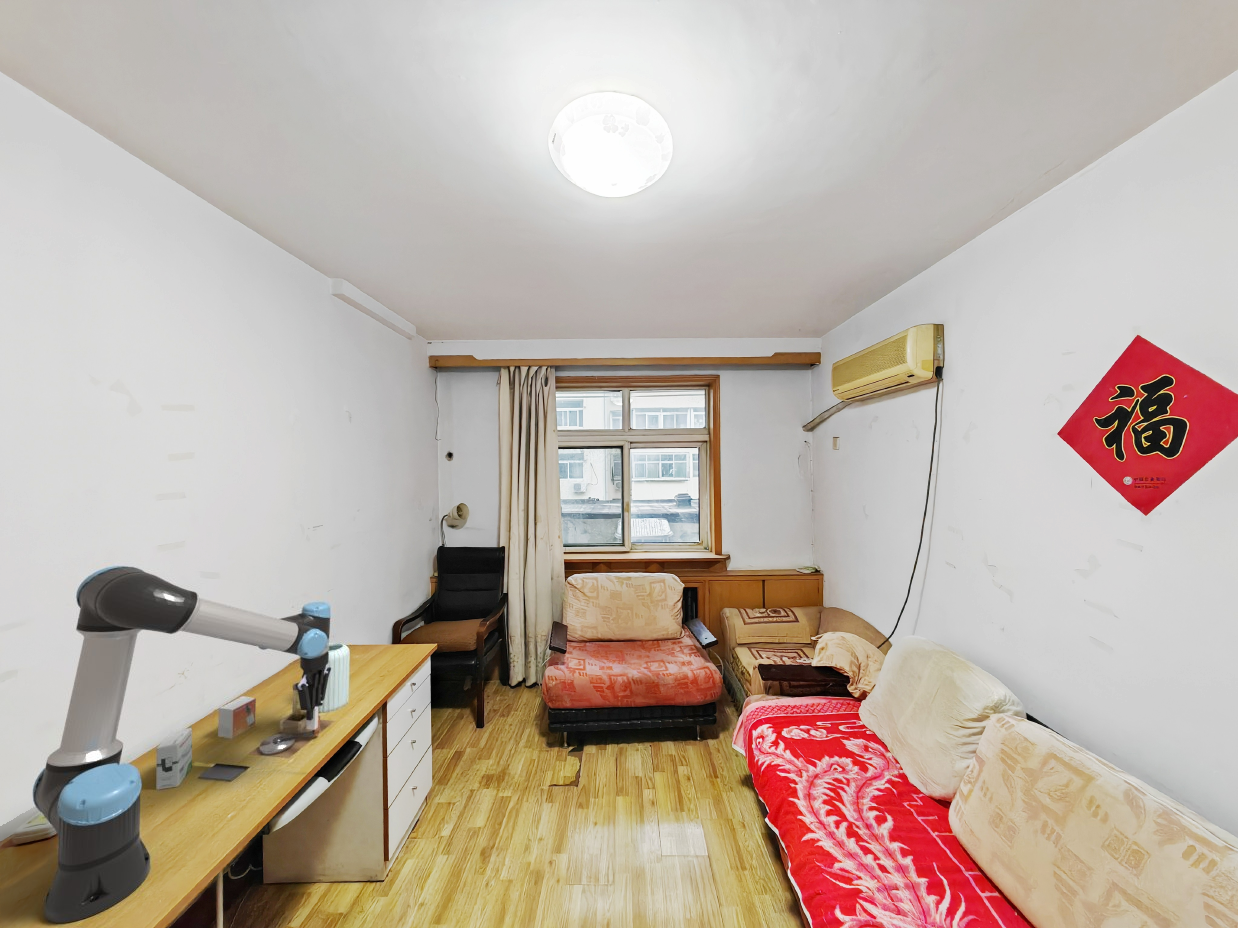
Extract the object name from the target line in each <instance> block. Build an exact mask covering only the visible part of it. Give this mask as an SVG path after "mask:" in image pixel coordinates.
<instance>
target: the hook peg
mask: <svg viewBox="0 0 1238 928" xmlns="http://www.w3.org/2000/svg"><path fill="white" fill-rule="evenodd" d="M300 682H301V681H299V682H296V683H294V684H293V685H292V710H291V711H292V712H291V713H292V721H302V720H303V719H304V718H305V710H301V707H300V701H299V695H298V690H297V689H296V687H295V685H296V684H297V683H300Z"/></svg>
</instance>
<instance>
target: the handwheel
mask: <svg viewBox="0 0 1238 928" xmlns="http://www.w3.org/2000/svg"><path fill="white" fill-rule="evenodd" d="M320 720H321V716H320V715H318V727H317V728H316V729H315V730H313V731H309V732H304V733H300V734H295V735H294V734H292V733H281V734H277V733H276V734H277V735H275V734H273V735H271V736H269V737H267V738H265V739H263V741H261V742H260V744H259V745H258V747H259V751H260V753H262V754H276V753H280V752H282V751H285V750H287V749H289V748H290V747H292V746H293V745H294V743H295V739H296V738H300V737H305V736H309V735H317V734H318V735H320V734H321V733H320ZM319 733H320V734H319ZM318 735H317V736H318Z"/></svg>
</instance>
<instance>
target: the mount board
mask: <svg viewBox="0 0 1238 928" xmlns="http://www.w3.org/2000/svg"><path fill="white" fill-rule="evenodd" d="M334 722H335V720H330V719H329V720H328V719H320V733H319V734H317V735H309V736H305V737H300V738H296V739H295V743H294V745H293V746H292V747H290V748H289V749H287V750H285V751H282V752H280V753H276V754H262V753H260V751H259V746H257V747H256V748H255V749H254V750H252V751H251V752H249V753H248V755H252V756H263V757H275V758H284V759H291V757H293V756H294V755H296V754H297V753H298V752H299V751H300V750H301V749H303V748H304V747H305V746H306V745H308V744H309V743H310V742H311V741H312V740H314V739H315V738H316V737H317V736H319V735H320V734H321V733H322V732H324V730H326V729H327V728H329V726H331V724H333V723H334ZM309 731H313V730H312V729H307V730H306V731H304V732H309ZM304 732H303V733H304ZM281 733H282V732H280V731H278V732H277V733H276V734H274V735H277V734H281ZM292 734H293V733H292ZM294 735H295V734H294Z"/></svg>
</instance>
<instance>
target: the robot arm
mask: <svg viewBox="0 0 1238 928" xmlns="http://www.w3.org/2000/svg"><path fill="white" fill-rule="evenodd" d="M75 598H76V604H77V606H78V608H80V609H79V613H78V619H77V623H76V629H75V630H76V632H78V633H79V634H81V635H82V636H83V639H82V646H81V650H80V655H79V658H78V659H79V660H78V665H77V668H76V673H75V677H74V682H73V686H72V687H73V688H72V691H71V695H70V700H69V705H68V709H67V714H66V719H65V723H64V729H63V732H62V735H61V742H60V746H59V748H57V749H56V750H54V751H53V752H52V753H50V754H49V756H48V757H47V759H46V763H45V768H43V769H42V770H41V772H39V774H38V776H37V778H36V779H35V781H34V784H33V786H32V787H33V788H32V801H33V803H34V806H35V808H36V809H37V810H38V812H40V813H41V814H42V815H43V816H44V817H45V819H46V820H47V821H48V823H50V825H51V826H52V827H53V828H54V830H55V831H56V833H57V839H58V840H57V844H58V845H57V846H58V847H57V852H58V853H57V859H58V861H57V865H58V866H57V870H56V873H55V876H54V878H53V881H52V883H51V887H50V889H49V890H48V891H47V894H46V896H45V899H44V904H43V905H44V907H43V908H44V909H43V915H44V918H45V919H46V920H47V921H49V922H52V923H61V924H62V923H70V922H76V921H79V920H82V919H86V918H89V917H91V916H94V915H97V914H99V913H100V912H103V911H105V910H107V909H109V908H111V907H113V906H115V905H116V904H118V903H120V902H121V901H123V900H124V899H125V898H127V897H129V896H130V895H131V894H132V893H133V892H135V890H137V889H138V888H139V887H141V885H142V884H143V883H144V882H145V881H146V879H147V877H148V876H149V874H150V871H151V855H150V853H149V851H148V849H147V847H146V845H145V843H144V842H143V840H142V838H141V836H140V832H141V831H140V828H141V827H140V826H141V791H142V785H143V784H142V778H141V775H140V771H139V769H138V768H137V767H136V766H135V765H133V764H130V763H125V762H122V763H121V760H122V758H121V757H122V754H123V753H122V752H123V748H124V743H123V742H122V741H121V740H120V739H119V738H117V734H118V733H117V732H118V730H119V729H118V728H119V724H120V720H121V715H122V709H123V706H124V705H123V704H124V699H125V695H126V692H127V686H128V681H129V677H130V672H131V668H132V667H131V666H132V661H133V657H134V651H135V649H136V648H135V646H136V643H137V639H138V634H139V633H140V632H141V631H142V630H143V631H152V632H158V633H164V634H168V635H174V634H176V633H179V632H185V633H190V634H195V635H200V636H204V637H209V638H214V639H219V640H224V641H228V642H232V643H233V642H235V643H238V644H244V645H249V646H253V647H257V648H259V649H260V650H262V651H263V650H264V651H265V650H273V651H277V652H278V651H279V652H282V653H287V654H291V655H296V656H298V657H300V661H299V664H300V665H299V667H300V668H301V670H302V675H301V680H300V681H299V682H300V683H299V682H296V683H297V684H296V683H295V684H296V685H295V687H296V689H297V690H298V695H299V701H300V707H301V710H305V711H306V720H307V726H306V729H312V730H315V729H316V728H317V727H318V716H319V713H320V712H319V706H322V705H323V703H321V701H323V700H324V699H325V694H326V688H327V683H328V677H329V674H330V671H331V668H330V667H326V665H327V664H328V662H329V652H328V650H329V644H330V632H331V631H330V629H331V618H332V617H331V615H332V614H331V605H330V604H329V602H325V601H314V602H308V603H307V604H306V603H305V604H304V605H303V606H302V608H301V612H300V613H297V614H294V615H290V616H289V615H288V616H285V617H282V618H277V617H273V616H269V615H266V614H262V613H259V612H258V613H257V612H254V611H249V610H247V609H242V608H238V607H234V606H231V605H227V604H222V603H219V602H215V601H212V600H209V599H208V600H207V599H204V598H200V596H199V593H198V592H196V591H191V590H188V589H185V588H183V587H180V586H177V585H176V584H174V583H171V582H169V581H167V580H165V579H163V578H161V577H159V576H157V575H154V574H152V573H149V572H146V571H144V570H143V569H142V568H141V569H140V568H139V567H135V566H127V565H113V566H109V567H108V566H107V567H105V568H102V569H99V570H96V571H95V572H93V573H92V574H90V575H88V576H87V577H86V578H85V579H84V580H83V581H81V584H80V585H79V586H78V588H77V590H76V597H75Z"/></svg>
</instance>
